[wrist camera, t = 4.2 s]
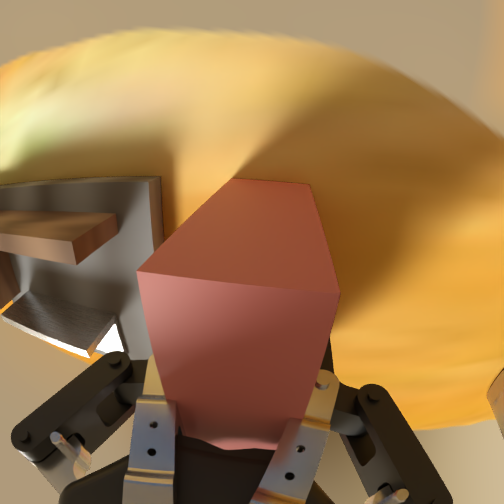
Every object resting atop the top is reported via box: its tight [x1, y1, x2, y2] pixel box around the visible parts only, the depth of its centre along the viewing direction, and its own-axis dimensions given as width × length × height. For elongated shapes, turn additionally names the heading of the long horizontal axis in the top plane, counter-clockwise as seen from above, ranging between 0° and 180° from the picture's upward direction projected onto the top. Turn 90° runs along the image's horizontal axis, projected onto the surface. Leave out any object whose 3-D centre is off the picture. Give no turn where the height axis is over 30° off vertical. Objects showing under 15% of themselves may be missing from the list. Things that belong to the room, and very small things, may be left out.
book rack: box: [0, 176, 164, 360], centre depth 16 cm, size 18×14×6 cm
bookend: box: [1, 290, 127, 358], centre depth 17 cm, size 10×4×4 cm, turn 87°
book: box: [136, 178, 341, 450], centre depth 12 cm, size 4×12×10 cm, turn 177°
